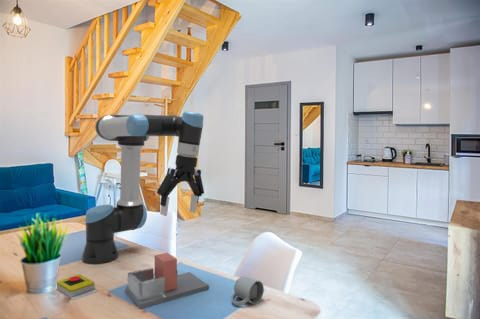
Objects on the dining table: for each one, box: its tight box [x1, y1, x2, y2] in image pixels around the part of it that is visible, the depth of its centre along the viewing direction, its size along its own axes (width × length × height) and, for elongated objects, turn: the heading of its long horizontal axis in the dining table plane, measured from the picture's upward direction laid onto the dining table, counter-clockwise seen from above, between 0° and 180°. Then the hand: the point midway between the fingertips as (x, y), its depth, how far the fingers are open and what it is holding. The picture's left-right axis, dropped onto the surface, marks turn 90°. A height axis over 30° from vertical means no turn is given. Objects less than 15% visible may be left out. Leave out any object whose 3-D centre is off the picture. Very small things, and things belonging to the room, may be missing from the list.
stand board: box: [124, 271, 210, 310], centre depth 130 cm, size 15×26×2 cm, turn 126°
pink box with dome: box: [154, 252, 179, 292], centre depth 130 cm, size 8×6×11 cm
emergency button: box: [56, 274, 99, 300], centre depth 130 cm, size 9×4×15 cm
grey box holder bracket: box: [127, 267, 165, 302], centre depth 125 cm, size 11×9×6 cm
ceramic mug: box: [230, 276, 265, 307], centre depth 123 cm, size 11×8×8 cm
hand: (178, 213), depth 129 cm, fingers open, 13 cm apart
